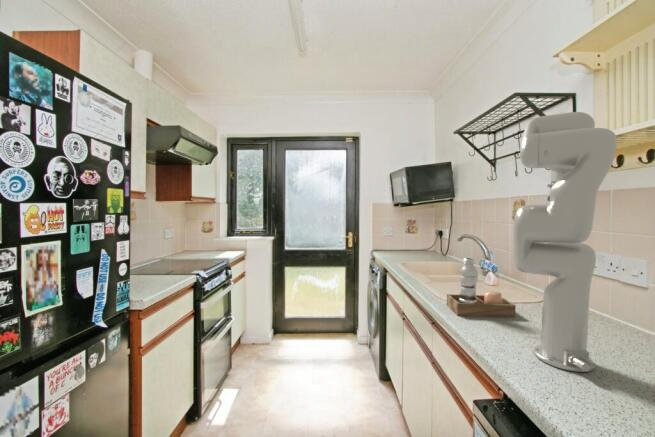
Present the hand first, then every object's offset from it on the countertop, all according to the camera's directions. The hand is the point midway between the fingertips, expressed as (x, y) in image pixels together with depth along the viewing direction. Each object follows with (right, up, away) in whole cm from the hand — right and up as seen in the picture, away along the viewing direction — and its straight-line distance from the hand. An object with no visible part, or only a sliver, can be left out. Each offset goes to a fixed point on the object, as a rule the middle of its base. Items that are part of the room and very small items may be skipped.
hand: (561, 236), depth 106 cm
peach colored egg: (-19, -29, +9) cm, 36 cm away
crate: (-24, -30, +10) cm, 40 cm away
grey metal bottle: (-29, -29, +10) cm, 42 cm away
